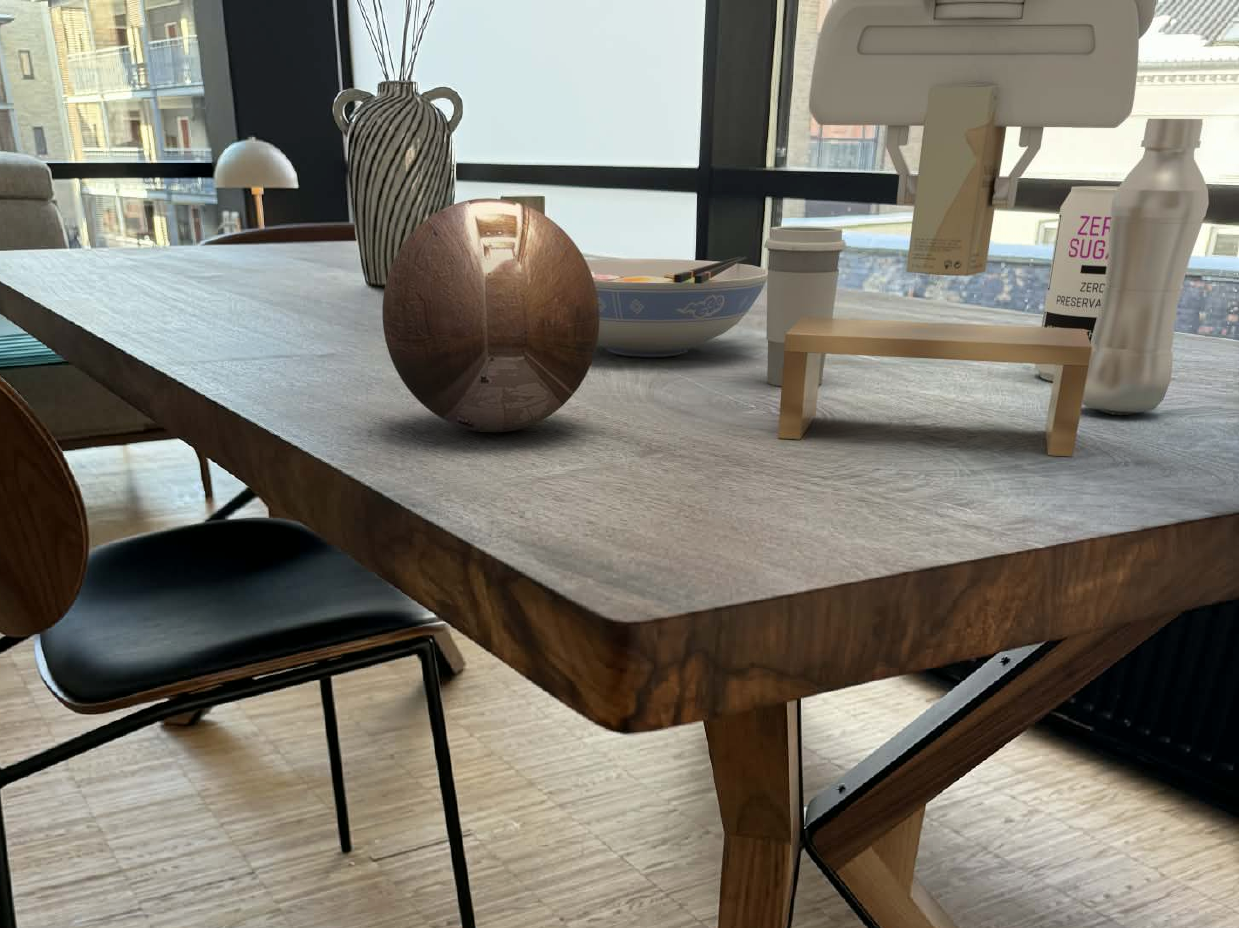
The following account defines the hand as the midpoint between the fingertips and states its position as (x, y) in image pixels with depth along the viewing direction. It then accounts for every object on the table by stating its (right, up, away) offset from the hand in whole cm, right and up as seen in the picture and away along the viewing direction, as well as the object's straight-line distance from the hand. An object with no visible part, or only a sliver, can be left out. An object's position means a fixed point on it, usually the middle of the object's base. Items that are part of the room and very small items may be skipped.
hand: (954, 205), depth 90 cm
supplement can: (+19, -1, +29) cm, 35 cm away
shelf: (0, -13, +7) cm, 15 cm away
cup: (-7, -3, +26) cm, 27 cm away
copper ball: (-31, -13, +7) cm, 34 cm away
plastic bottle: (+17, -9, +15) cm, 24 cm away
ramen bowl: (-19, +6, +41) cm, 45 cm away
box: (0, -4, +2) cm, 4 cm away
